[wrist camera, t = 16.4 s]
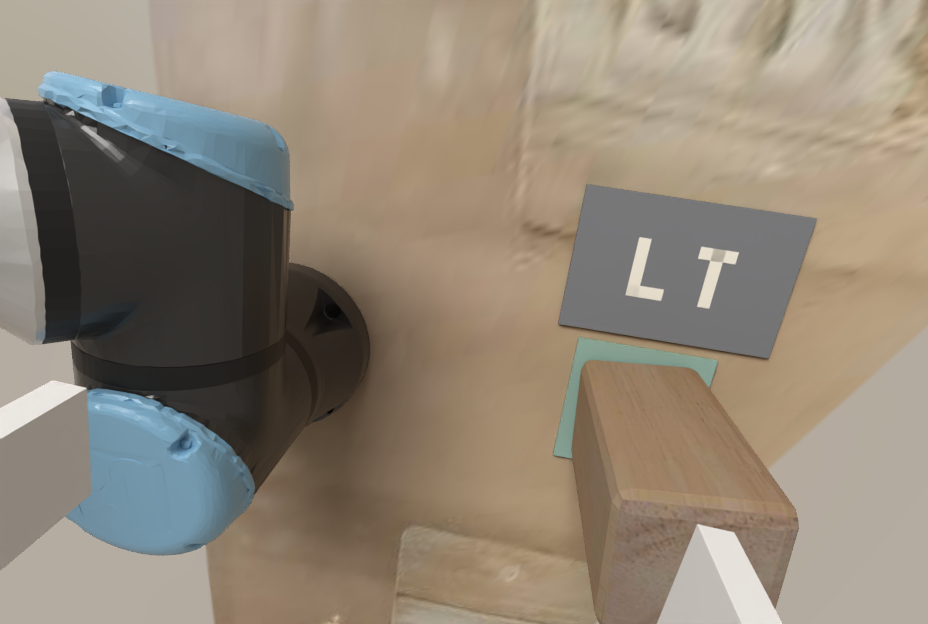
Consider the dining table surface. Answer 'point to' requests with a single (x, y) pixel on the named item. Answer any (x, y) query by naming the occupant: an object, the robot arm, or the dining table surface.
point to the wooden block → (666, 486)
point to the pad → (617, 353)
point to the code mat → (683, 270)
